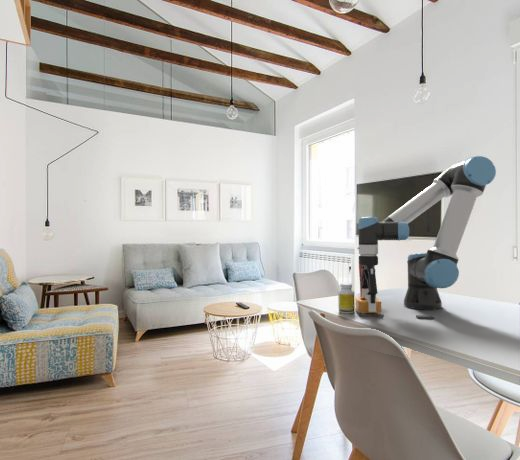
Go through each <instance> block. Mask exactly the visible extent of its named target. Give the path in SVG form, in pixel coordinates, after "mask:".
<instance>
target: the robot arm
mask: <svg viewBox="0 0 520 460" xmlns="http://www.w3.org/2000/svg"><path fill="white" fill-rule="evenodd" d="M496 173H497V168H496V166H495V165H494V162H493V161H492V160H491V159H490V158H488V157H486V156H484V155H477V156H470V157H468V158H467V159H464V160H461V161H458V162H456V163H453V164H452V165H451V166H449V167H448V168H447V169H446V170H445V171H443V172H442V173H441V174H440V175H438V176H437V177H436V178H434V179H433V181H432V184H431V185H429V186H428V187H426V188H425V189H423V191H421V192H419V193H418V194H417V195H415V196H414V197H412V198H411V199H410V200H408V201H407V202H406V203H405V204H404V205H402V206H401V207H399V208H398V209H396V210H395V211H394V212H392V213H391V214H390V215H388V216H387V217H386V218H384V219H383V220H382V221H379V220H378V217H377V216H362V217H361V216H360V217H359V219H358V226H357V229H358V231H357V232H358V234H357V235H358V246H357V247H356V249H357V250H358V266H359V265H364V266H362V277H361V286H362V288H363V289H362V297H366V293H367V295H368V304H369V312H376V298H377V294H379V293H378V284H377V277H376V268H375V269H373V265H375V266H378V265H379V256H378V255H379V241H398V242H399V241H406V240H408V239H409V236H410V227H409V224H410V223H411V222H412V221H414V220H415V219H416V218H418V217H419V216H420V215H422V214H423V213H424V212H426V211H427V210H429V209H430V208H431V207H433V206H434V205H435V204H437V203H438V202H440V201H441V200H442V199H444V198H449V197H450V201H449V203H448V206H447V208H446V211H445V213H444V217H443V219H442V222H441V225H440V228H439V230H438V233H437V236H436V239H435V242H434V244H433V246H432V247H431V248H429V249H427V251H426V252H425V253H424V252H422V253H419V252H418V253H410V254H408V256H407V289H406V293H405V295H404V296H405V297H404V298H403V306H405V307H408V308H411V309H416V310H417V309H418V310H426V311H427V310H441V309H442V307H443V305H442V304H443V302H442V300H441V296H440V293H439V291H438V289H447V288H449V287H452V286H453V285H454V284H455V283H456V282H457V280H458V279H459V276H460V271H459V268H458V263H459V257H458V256H457V253H458V250H459V248H460V244H461V242H462V239H463V236H464V233H465V231H466V228H467V226H468V222H469V220H470V218H471V214H472V213H473V212H472V211H473V208H474V206H475V203H476V200H477V199H478V198H479V197H481V196H482V195H483V194H484V191H485V189H486V186H487V185H489V184H491V183H492V182H493V181H494V179H495V177H496V176H497V175H496ZM367 288H368V289H367Z"/></svg>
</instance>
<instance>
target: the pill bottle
mask: <svg viewBox="0 0 520 460" xmlns="http://www.w3.org/2000/svg"><path fill="white" fill-rule="evenodd" d="M339 286H340V289H339V290H338V293H337V295H338V296H337V300H338V305H337V306H338V312H339V313H340V314H341V313H342V314H354V313H355V312H356V311H355V308H356V303H355V291H354V290H353V289H352V288H353V284H352V283H350V282H343V283H342V282H341V283H340V285H339Z"/></svg>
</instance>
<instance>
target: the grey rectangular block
mask: <svg viewBox="0 0 520 460" xmlns="http://www.w3.org/2000/svg"><path fill="white" fill-rule="evenodd" d="M415 318H416V319H418V320H435V318H436V317H435V316H434V315H431V314H430V315H428V314H426V315H425V314H424V315H421V314H420V315H419V314H417V315H415Z"/></svg>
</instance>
